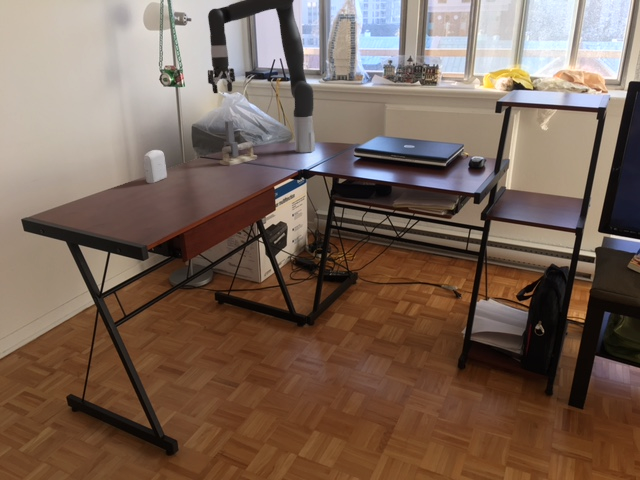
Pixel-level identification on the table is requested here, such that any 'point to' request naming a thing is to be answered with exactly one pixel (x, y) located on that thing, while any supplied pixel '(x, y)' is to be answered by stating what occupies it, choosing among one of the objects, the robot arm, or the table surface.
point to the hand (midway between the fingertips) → (222, 92)
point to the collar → (231, 139)
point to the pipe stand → (238, 159)
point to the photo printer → (154, 166)
